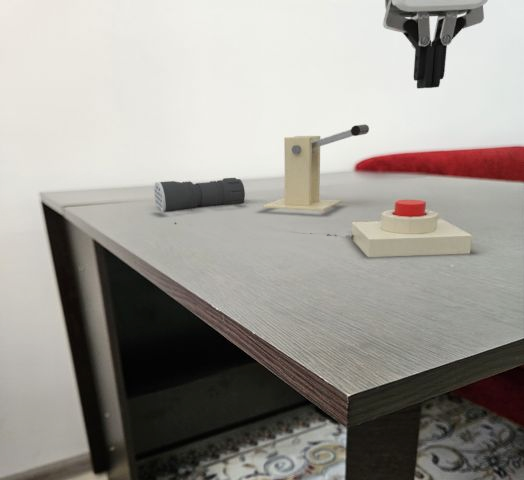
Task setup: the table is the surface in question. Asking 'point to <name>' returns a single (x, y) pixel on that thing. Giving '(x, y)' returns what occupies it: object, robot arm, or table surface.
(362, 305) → the table surface
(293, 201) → the switch bracket
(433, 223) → the beige button housing
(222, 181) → the flashlight
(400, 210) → the light button
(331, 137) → the switch
